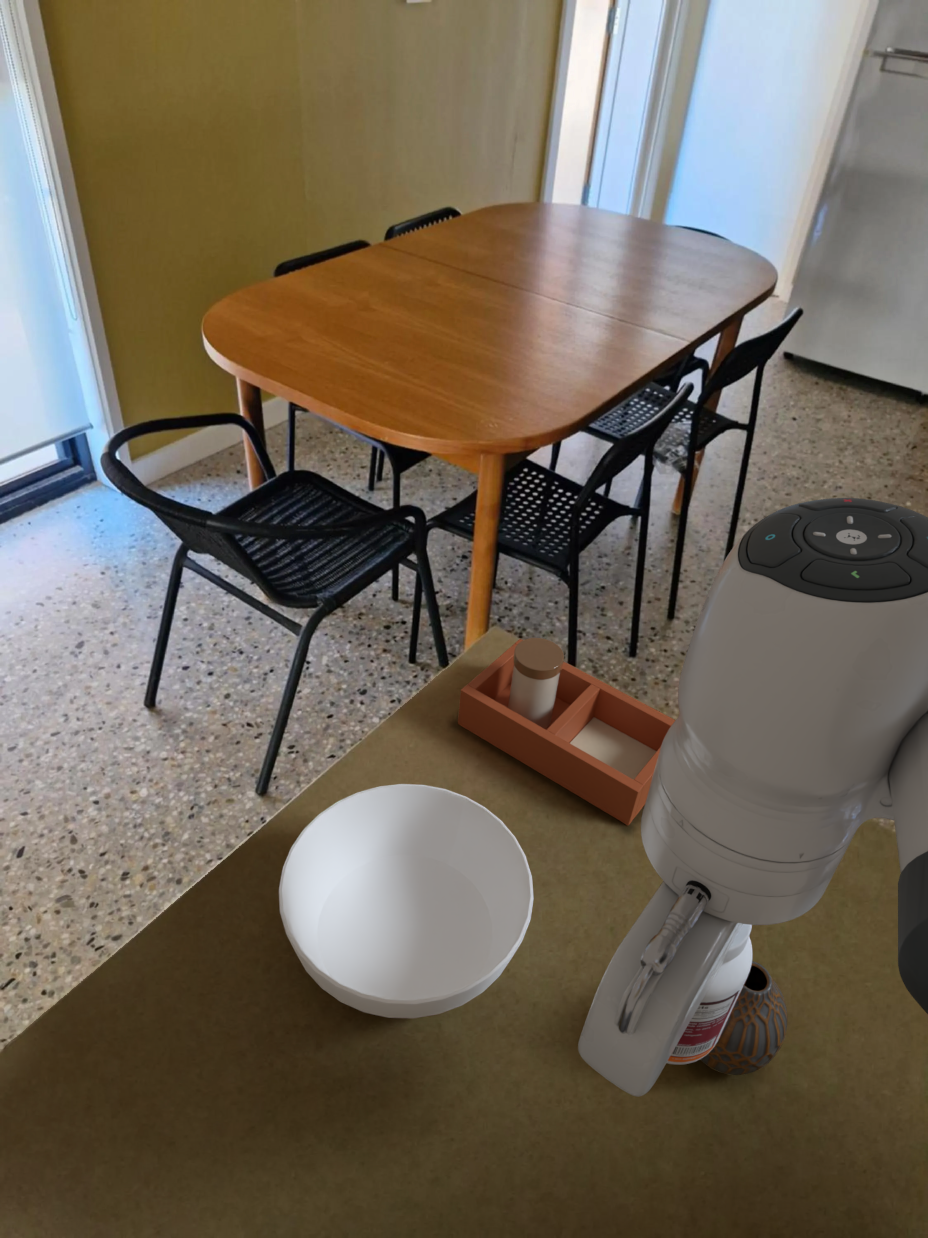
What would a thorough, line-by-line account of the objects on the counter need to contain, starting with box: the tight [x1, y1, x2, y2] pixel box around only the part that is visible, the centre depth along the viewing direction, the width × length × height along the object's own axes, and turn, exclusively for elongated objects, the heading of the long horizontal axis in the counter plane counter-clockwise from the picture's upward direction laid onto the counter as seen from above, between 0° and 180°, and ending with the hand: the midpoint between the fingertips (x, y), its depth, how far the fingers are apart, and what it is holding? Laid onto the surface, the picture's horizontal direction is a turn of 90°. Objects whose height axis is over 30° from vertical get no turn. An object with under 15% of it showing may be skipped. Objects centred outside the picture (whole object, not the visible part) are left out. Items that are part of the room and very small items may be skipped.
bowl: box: [278, 783, 535, 1019], centre depth 66 cm, size 18×18×7 cm
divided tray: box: [457, 638, 676, 826], centre depth 84 cm, size 10×19×5 cm, turn 53°
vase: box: [699, 960, 788, 1076], centre depth 61 cm, size 7×7×9 cm
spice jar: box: [508, 637, 565, 729], centre depth 84 cm, size 5×5×8 cm
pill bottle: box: [666, 924, 754, 1065], centre depth 49 cm, size 6×6×11 cm
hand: (680, 978), depth 50 cm, fingers closed on pill bottle, 6 cm apart
